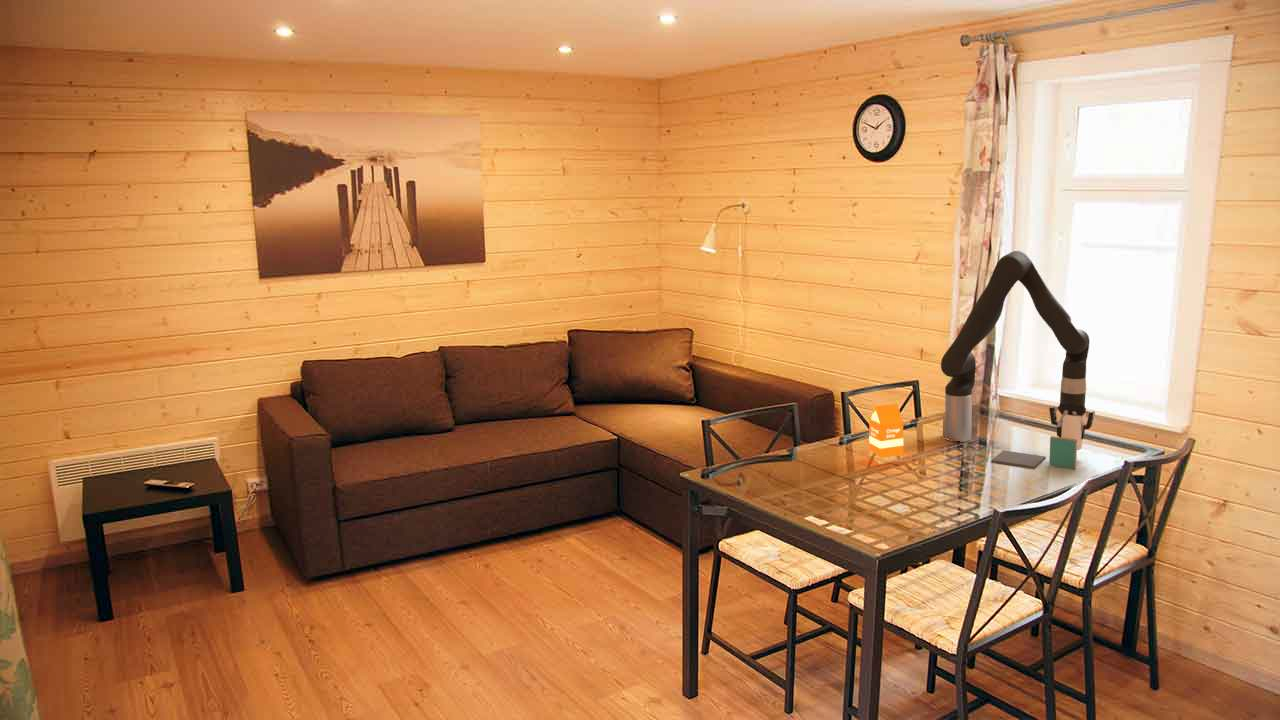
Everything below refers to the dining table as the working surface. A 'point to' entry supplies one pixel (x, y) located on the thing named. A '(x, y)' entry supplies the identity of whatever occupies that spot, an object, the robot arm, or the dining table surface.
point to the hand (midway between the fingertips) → (1070, 438)
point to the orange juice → (886, 431)
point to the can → (1072, 428)
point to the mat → (1019, 459)
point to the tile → (1063, 452)
